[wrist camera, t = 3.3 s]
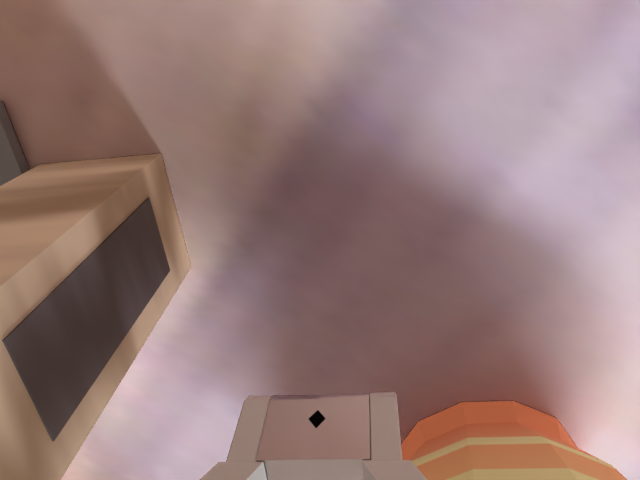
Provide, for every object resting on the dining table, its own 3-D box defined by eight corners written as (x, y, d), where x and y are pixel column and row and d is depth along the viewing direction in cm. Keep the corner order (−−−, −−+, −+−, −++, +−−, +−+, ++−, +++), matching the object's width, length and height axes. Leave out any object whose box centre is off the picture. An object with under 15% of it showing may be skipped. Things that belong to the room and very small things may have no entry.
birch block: (40, 164, 20) (-349, 377, 9) (162, 152, 19) (-96, 368, 8) (81, 273, 22) (-189, 549, 11) (192, 266, 21) (18, 552, 10)
